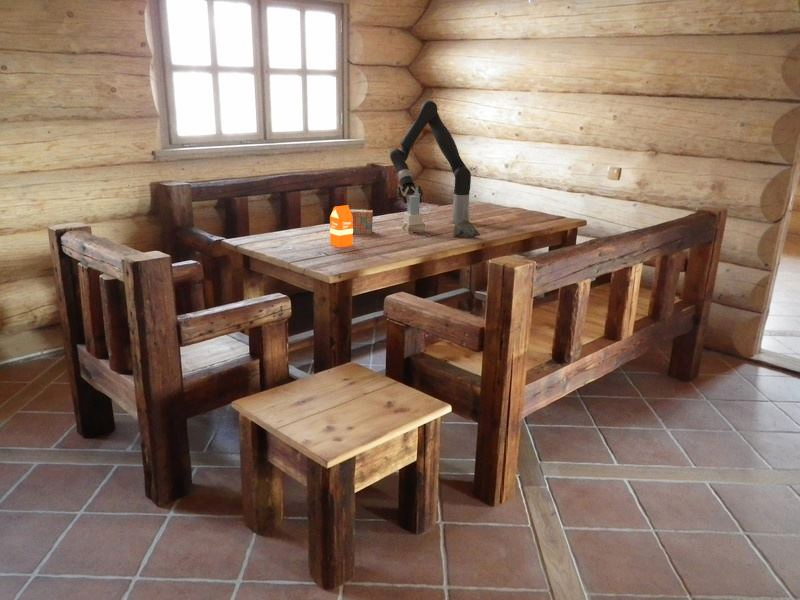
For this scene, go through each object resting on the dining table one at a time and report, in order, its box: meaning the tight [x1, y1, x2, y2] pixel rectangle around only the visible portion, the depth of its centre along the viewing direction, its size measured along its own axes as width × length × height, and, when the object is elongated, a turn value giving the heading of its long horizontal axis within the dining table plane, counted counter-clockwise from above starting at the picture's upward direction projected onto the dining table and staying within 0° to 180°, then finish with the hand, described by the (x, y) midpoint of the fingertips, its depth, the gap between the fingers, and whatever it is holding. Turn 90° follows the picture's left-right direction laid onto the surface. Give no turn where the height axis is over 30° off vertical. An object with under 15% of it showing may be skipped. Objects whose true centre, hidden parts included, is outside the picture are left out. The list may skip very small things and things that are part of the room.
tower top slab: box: [403, 212, 423, 225], centre depth 382 cm, size 8×8×5 cm
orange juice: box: [329, 204, 354, 248], centre depth 346 cm, size 8×9×20 cm
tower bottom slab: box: [400, 220, 426, 234], centre depth 384 cm, size 10×10×5 cm
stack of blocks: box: [350, 208, 374, 234], centre depth 376 cm, size 21×6×12 cm, turn 88°
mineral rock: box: [453, 219, 481, 238], centre depth 370 cm, size 13×11×10 cm
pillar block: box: [407, 195, 421, 215], centre depth 380 cm, size 5×5×10 cm
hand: (413, 202), depth 380 cm, fingers open, 8 cm apart
